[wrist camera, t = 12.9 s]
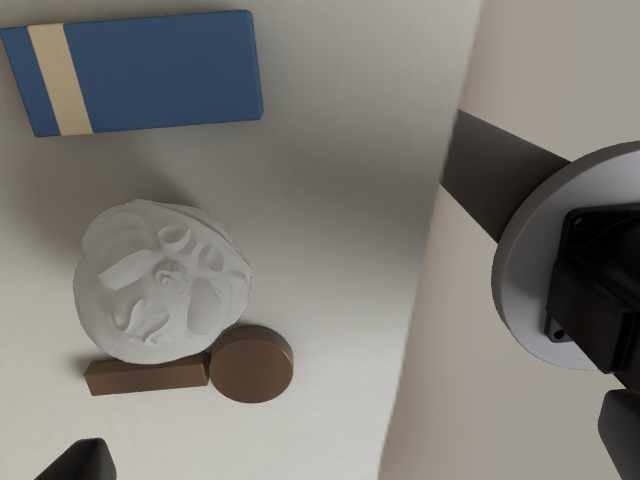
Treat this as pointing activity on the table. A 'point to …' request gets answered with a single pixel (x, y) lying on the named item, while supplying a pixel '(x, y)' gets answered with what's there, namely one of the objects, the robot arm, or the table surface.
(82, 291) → the frog figurine
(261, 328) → the brown disc with handle
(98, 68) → the blue eraser
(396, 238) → the table surface
